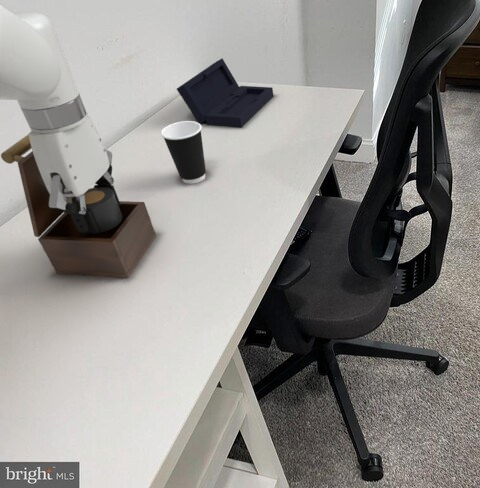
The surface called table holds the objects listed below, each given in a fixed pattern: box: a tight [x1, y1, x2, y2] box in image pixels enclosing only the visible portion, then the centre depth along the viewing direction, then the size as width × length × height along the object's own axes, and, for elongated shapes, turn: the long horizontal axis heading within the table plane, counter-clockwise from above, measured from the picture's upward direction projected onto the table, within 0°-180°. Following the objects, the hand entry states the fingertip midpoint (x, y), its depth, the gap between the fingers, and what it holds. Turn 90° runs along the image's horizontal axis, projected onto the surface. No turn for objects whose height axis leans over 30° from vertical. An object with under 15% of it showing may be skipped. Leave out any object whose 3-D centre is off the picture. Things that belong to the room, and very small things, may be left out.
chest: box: [38, 200, 157, 279], centre depth 80 cm, size 13×11×7 cm
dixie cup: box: [160, 120, 207, 185], centre depth 98 cm, size 8×8×11 cm
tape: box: [72, 187, 122, 233], centre depth 76 cm, size 6×6×5 cm
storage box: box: [176, 57, 274, 128], centre depth 127 cm, size 21×16×10 cm
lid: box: [0, 133, 73, 238], centre depth 74 cm, size 13×11×5 cm
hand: (100, 218), depth 77 cm, fingers closed on tape, 6 cm apart
